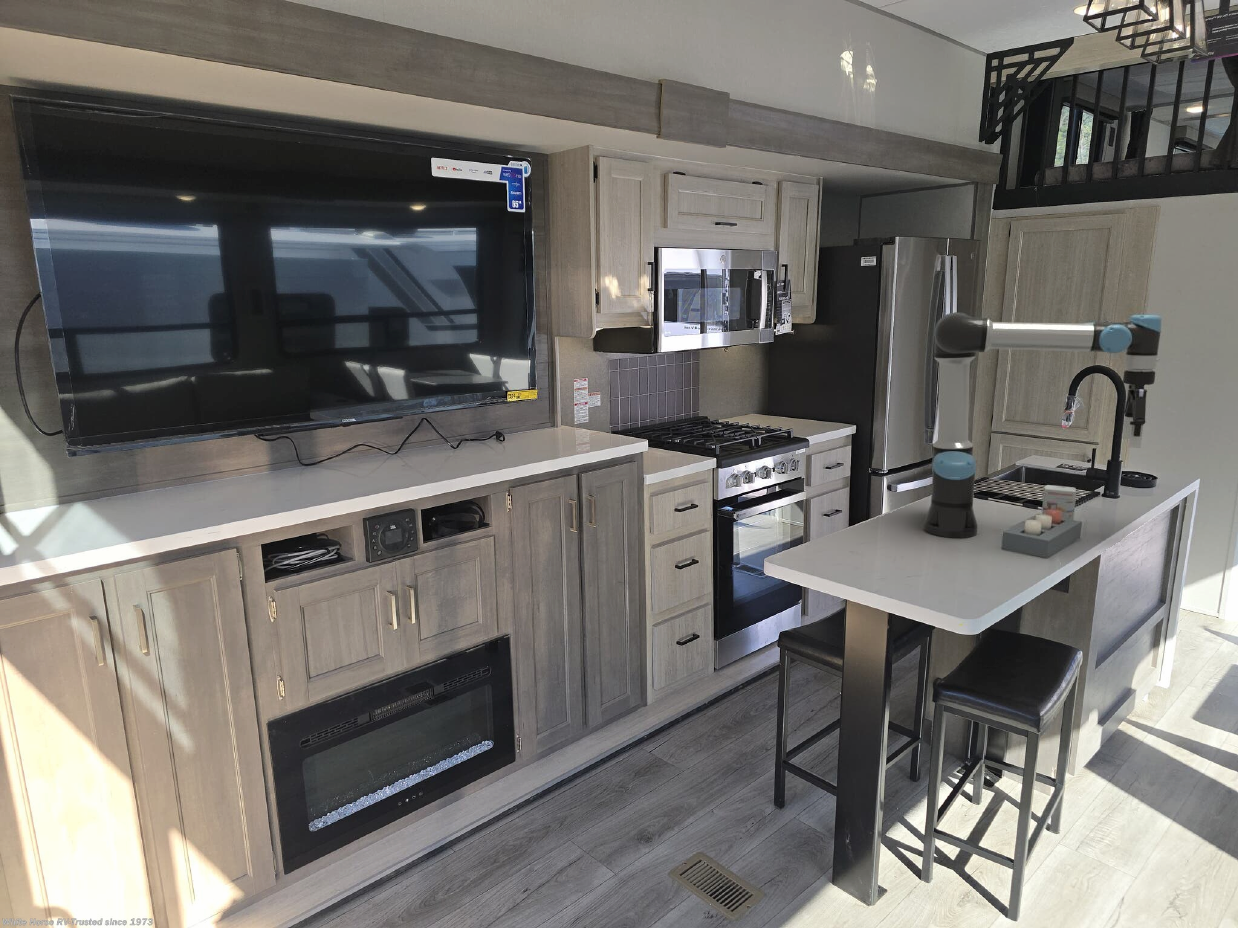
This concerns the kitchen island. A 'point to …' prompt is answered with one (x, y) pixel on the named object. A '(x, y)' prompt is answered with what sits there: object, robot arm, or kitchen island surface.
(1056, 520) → the red egg
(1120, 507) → the kitchen island surface
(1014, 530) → the grey socket block
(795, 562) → the kitchen island surface
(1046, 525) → the cream egg
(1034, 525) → the ivory egg
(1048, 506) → the ink box
